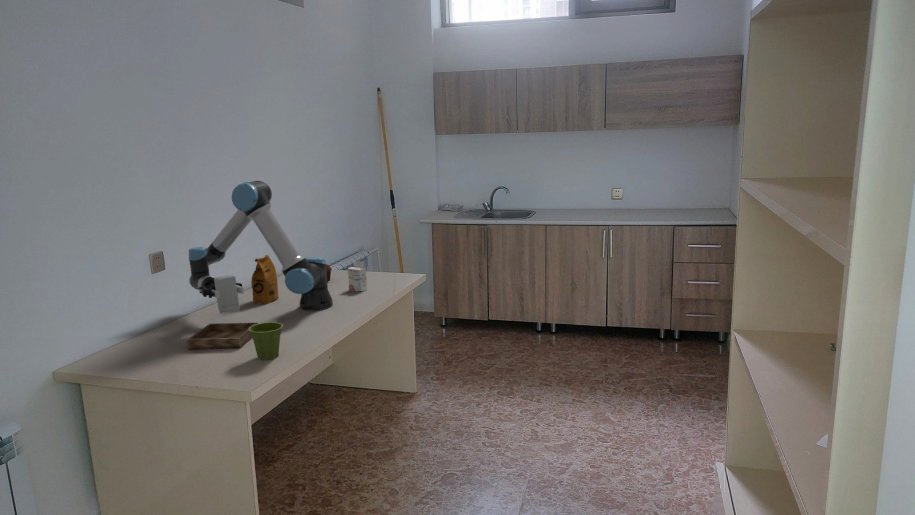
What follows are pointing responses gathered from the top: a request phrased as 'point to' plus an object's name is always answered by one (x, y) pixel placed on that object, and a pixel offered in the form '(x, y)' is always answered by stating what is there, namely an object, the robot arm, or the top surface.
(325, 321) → the top surface
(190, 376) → the top surface
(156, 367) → the top surface
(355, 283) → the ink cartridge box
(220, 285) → the skincare box
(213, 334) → the walnut tray
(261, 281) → the coffee package
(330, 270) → the muffin
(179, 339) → the top surface
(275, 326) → the plant pot
